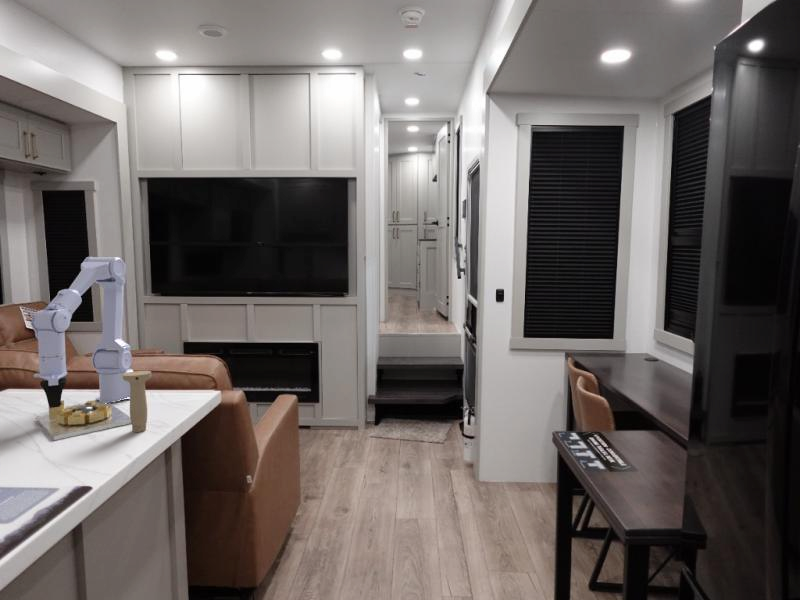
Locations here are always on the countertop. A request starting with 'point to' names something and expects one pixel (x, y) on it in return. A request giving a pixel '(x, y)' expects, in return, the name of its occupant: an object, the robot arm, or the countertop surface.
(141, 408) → the handle
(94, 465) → the countertop surface
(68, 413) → the gold blocky ring
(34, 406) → the countertop surface
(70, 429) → the plate
